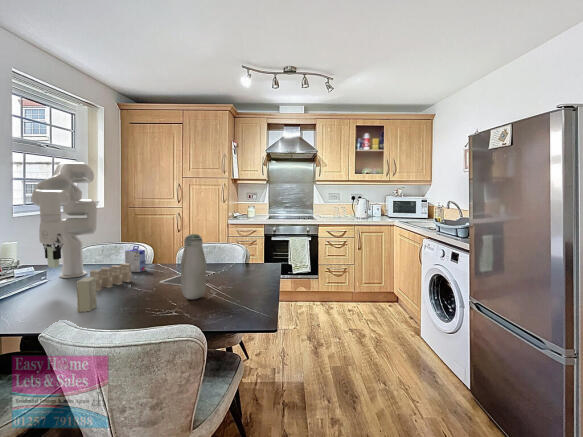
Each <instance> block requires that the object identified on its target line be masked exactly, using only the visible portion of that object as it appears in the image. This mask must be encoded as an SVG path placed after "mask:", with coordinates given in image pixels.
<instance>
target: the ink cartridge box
mask: <svg viewBox="0 0 583 437" xmlns="http://www.w3.org/2000/svg"><path fill="white" fill-rule="evenodd" d="M139 248H140V245H133V247H132V249H126V250H125V251H124V263H128V264H131V273H132V272H133V273H135V272H136V273H140V272H145V271H146V249H139Z"/></svg>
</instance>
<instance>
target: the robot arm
mask: <svg viewBox="0 0 583 437" xmlns="http://www.w3.org/2000/svg"><path fill="white" fill-rule="evenodd" d="M94 178H95V173H94V170H93V169H92V168H91V167H90V166H89V165H88V164H86V163H84V162H79V161H78V162H76V161H75V162H68V161H63V162H59V163H58V164H57V166H56V168H55V170H54V172H53V174H52V176H51V177H48V178H46V179H44V180H42V181H40V182H39V183H37V184H36V185H35V187H34V189H33V192H32V194H31V202H32V203H33V205H35V206H36V207H39V215H40V216H39V218H40V223H39V233H38V234H39V243H40V244H42V246H43V250H44V258H45V259H47V258H48V257H47V247H50V246H53V249H54V251H53V259H54V260H56V259H59V260H60V259H62V260H61V261H62V267H61V268H60V271H62V273H60V274H59V278H61V279H71V278H73V279H74V278H79V277H84V276H86V275H87V274H88V272H87V271H86V270H84V256H83V252H84V251H83V242H82V241H81V239H80V238H79V237H78V236H90V235H94V234H96V231H97V217H98V216H97V214H98V213H97V212H98V211H97V209H98V207H97V203H96V202H95V200H93V199H82V198H83V191H82V190H81V189H80V187H78V186H77V185H76V184H91V183H92V182H93V181H94ZM61 207H62V211H63V215H64V216H66V217H67V218H62V212H61Z"/></svg>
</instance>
